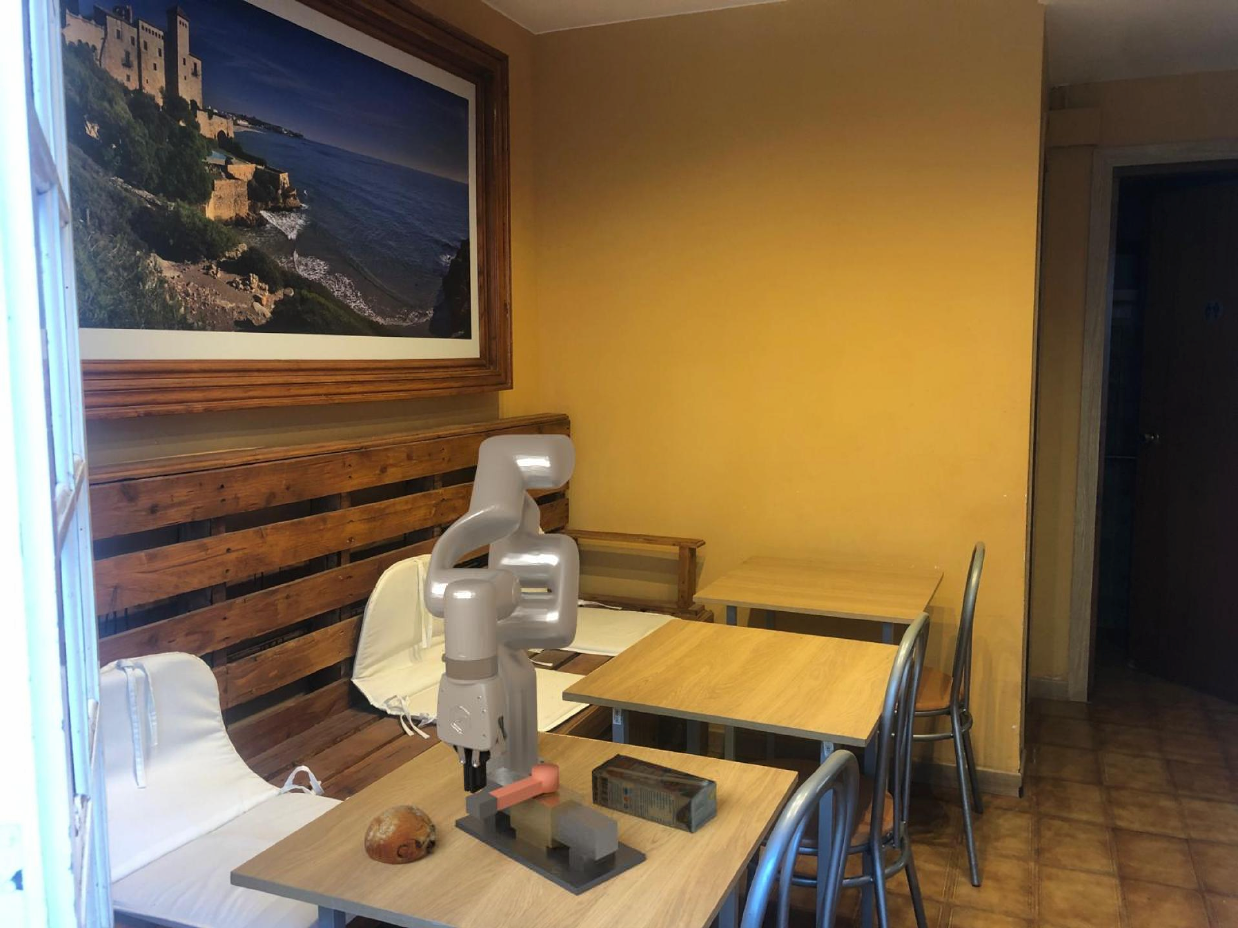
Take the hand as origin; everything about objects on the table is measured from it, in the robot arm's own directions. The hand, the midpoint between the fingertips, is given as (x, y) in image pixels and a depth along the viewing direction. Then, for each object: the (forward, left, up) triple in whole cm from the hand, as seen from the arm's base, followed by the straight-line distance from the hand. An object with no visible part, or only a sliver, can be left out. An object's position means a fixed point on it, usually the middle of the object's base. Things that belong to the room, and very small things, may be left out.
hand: (475, 788), depth 144 cm
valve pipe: (+6, +8, -9) cm, 14 cm away
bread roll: (-7, -8, -9) cm, 14 cm away
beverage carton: (+10, +27, -10) cm, 30 cm away
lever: (+6, +3, 0) cm, 7 cm away
